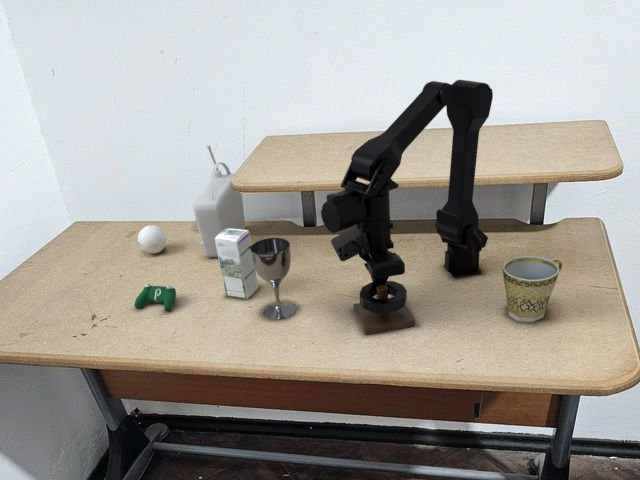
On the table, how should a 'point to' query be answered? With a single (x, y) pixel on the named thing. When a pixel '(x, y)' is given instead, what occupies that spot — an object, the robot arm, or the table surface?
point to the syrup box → (236, 263)
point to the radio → (218, 208)
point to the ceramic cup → (529, 286)
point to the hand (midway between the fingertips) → (377, 288)
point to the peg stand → (383, 316)
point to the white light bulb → (152, 239)
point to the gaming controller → (157, 296)
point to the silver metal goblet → (273, 272)
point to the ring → (383, 304)
